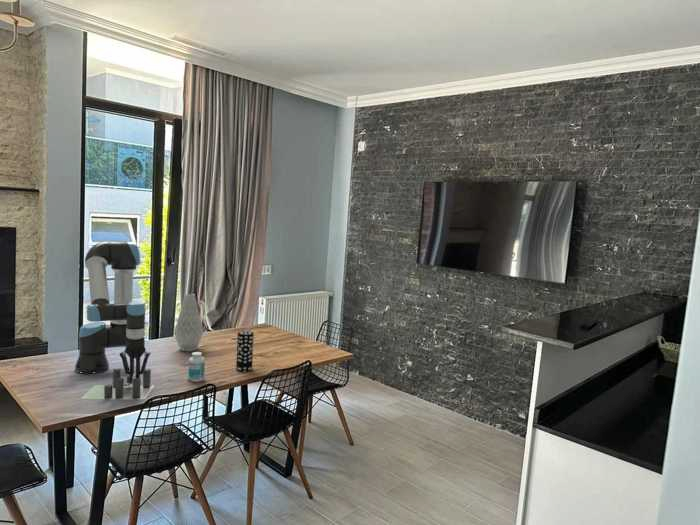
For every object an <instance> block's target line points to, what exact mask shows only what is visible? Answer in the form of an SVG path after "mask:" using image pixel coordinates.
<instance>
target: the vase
mask: <svg viewBox="0 0 700 525" xmlns="http://www.w3.org/2000/svg"><path fill="white" fill-rule="evenodd" d="M176 321H177V322H176V324H175V327H174V330H173V335H174V337H175V341H176V343H177V345H178V347H179V349H180V351H182V352H193V351H196V350H197V348H198V346H199V344H200V342H201V341H202V337H203V335H204V328H203V326H202V320H201V317H200V312H199V308H198V303H197V299H196V295H195V294H194V293H187V294H184V297H183V300H182V304H181V308H180V311H179V315H178V318H177V320H176Z"/></svg>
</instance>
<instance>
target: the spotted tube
mask: <svg viewBox="0 0 700 525" xmlns="http://www.w3.org/2000/svg"><path fill="white" fill-rule="evenodd" d="M236 342H237V343H236V361H235V362H236V365H235V370H236V371H237V372H239V373H249V371H250V372H252V371H253V358H254V357H253V356H254V331H251V330H250V331H249V330H242V331H238V332H237V339H236Z"/></svg>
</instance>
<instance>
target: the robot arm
mask: <svg viewBox="0 0 700 525" xmlns="http://www.w3.org/2000/svg"><path fill="white" fill-rule="evenodd" d="M140 265H141V256H140V248H139V246H138V244H137V243H135V242H132V241H131V242H130V241H100V242H98V243H96V244H94V245H93V246H91V247H90V249H89V250H88V252H87V253H86V254H85V258H84V266H85V268H86V269H87V273H88V274H87V275H88V281H89V282H88V283H89V284H88V286H89V296H90V304H88V305H87V306H86V320H87V321H88V323H85V324H83V325H82V326H81V327H80V328H79V334H78V337H79V339H78V340H79V345H78V347H79V348H78V349H79V350H78V352H79V354H78V357H77V360H76V364H75V366H74V371H75V370H76V371H78V372H82V373H93V372H99V373H102V372H101V371H103V372H106V371H108V370H109V369H108V368H109V367H110V364H109V361H108V357H107V355H106V349H112V348H122V347H123V348H124V350H123V351H121V352H120V353H119V357H120V358H121V360H122V365H123V369H124V373H125V374H126V375H128V376H129V375H130V382H132V390H133V379H136V378H139V379H141V375H143V373H144V371H145V369H146V367H147V364H148V359H149V358H150V356H151V354H152V353H151V352H150V351H147V349H146V347H145V346H146V345H145V342H146V340H145V339H146V338H145V336H146V333H145V332H146V330H145V329H146V328H145V323H146V304H145V303H144V302H142V301H133V289H134V288H133V287H134V286H133V285H134V284H133V283H134V272H135V271H136V269H137V266H140ZM107 266H111V267H110V269H112V271H113V272H114V276H113V277H114V279H113V280H114V284H113V288H114V289H113V295H114V296H113V303H110V295H109V286H108V279H107V277H108V276H107ZM108 321H110V322H109V324H106V322H108ZM143 355H144V356H143ZM127 356H128V357H129V363H128V358H127ZM142 356H143V357H144V358H143V361H142V366H141V359H142V358H141V357H142ZM107 369H108V370H107ZM105 370H106V371H105ZM76 371H75V372H76ZM78 372H77V373H78ZM82 373H81V374H82ZM93 374H94V373H93Z"/></svg>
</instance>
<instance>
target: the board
mask: <svg viewBox="0 0 700 525" xmlns="http://www.w3.org/2000/svg"><path fill="white" fill-rule="evenodd" d="M104 386H105V384H94V385H93V386H92V387H91V388H90V389H89V390H88V391H87V392H86V393H84V395H83V396H82V397H81V398H80V400H106V399H105V398H104ZM154 387H155V385H150V388H143V385H141V392H140V398H138V399H137V400H146V398H147V397H148V396H149V394H150V393H151V391H152V390H153V388H154ZM108 400H117V399H116V398H115V388H113V394H112V398H109V399H108ZM120 400H134V399H133V398H132V393H131V394H123V398H121V399H120Z"/></svg>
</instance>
